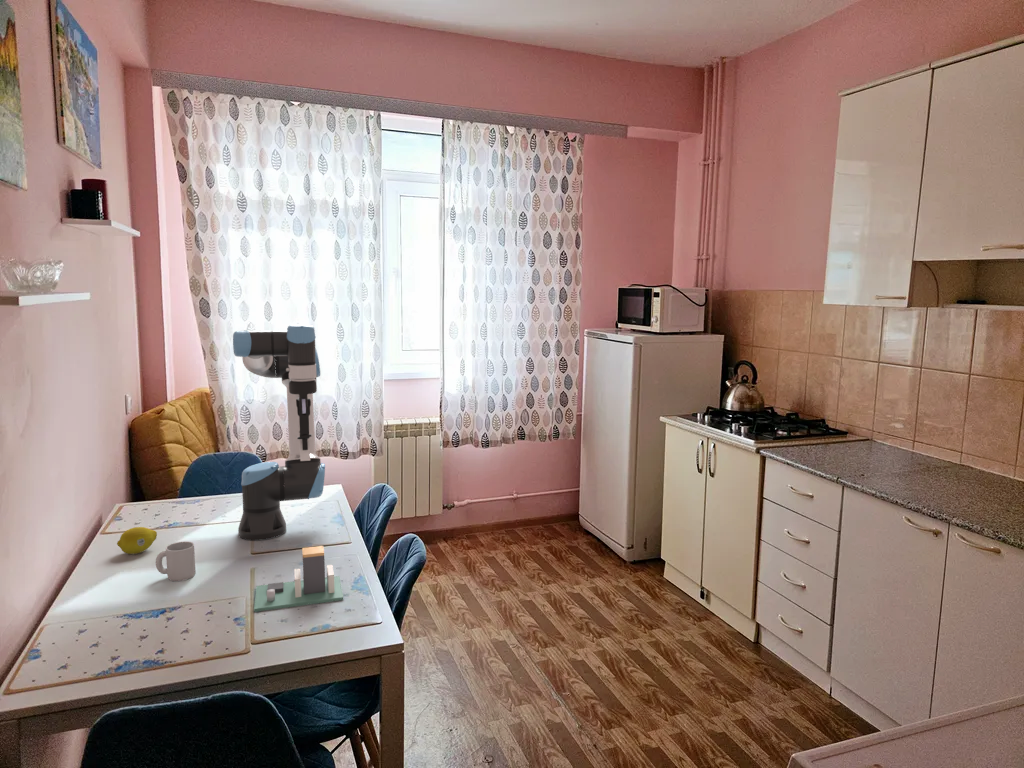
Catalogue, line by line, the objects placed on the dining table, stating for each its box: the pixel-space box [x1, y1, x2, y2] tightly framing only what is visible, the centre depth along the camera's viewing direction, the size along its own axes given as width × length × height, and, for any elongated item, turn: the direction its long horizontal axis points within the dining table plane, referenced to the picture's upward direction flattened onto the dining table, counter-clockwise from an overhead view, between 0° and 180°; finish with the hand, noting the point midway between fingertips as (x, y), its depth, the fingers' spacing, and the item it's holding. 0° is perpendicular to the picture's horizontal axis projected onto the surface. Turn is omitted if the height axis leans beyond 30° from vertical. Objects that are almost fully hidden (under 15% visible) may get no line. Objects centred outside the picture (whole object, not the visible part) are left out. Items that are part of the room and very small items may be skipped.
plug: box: [301, 545, 326, 594], centre depth 178 cm, size 5×6×11 cm
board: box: [253, 564, 344, 613], centre depth 177 cm, size 14×22×6 cm, turn 109°
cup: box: [155, 541, 196, 582], centre depth 187 cm, size 7×10×9 cm
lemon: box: [116, 526, 158, 555], centre depth 205 cm, size 11×8×8 cm
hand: (305, 460), depth 191 cm, fingers closed
